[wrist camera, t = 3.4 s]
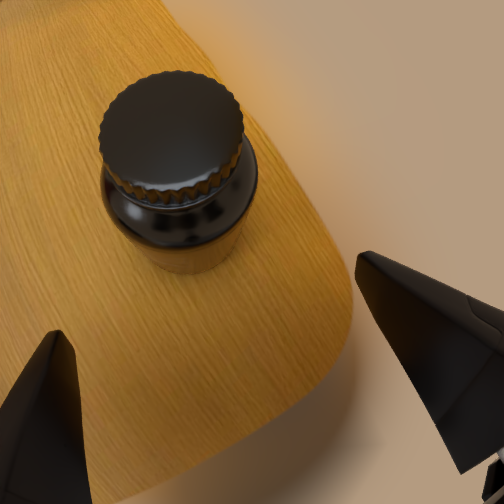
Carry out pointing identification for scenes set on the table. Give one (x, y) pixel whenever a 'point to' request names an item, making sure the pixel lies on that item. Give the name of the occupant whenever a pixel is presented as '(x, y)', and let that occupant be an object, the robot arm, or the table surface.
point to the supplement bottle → (177, 169)
